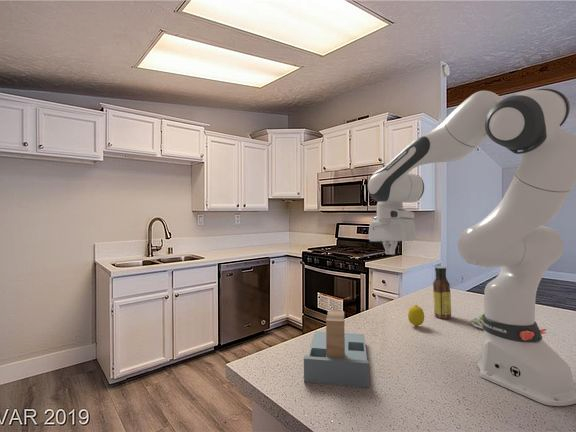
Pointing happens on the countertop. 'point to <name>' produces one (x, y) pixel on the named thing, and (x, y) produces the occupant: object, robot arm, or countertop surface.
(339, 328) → the block
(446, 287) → the sauce bottle
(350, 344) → the deck
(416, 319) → the lemon
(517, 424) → the countertop surface
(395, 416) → the countertop surface
